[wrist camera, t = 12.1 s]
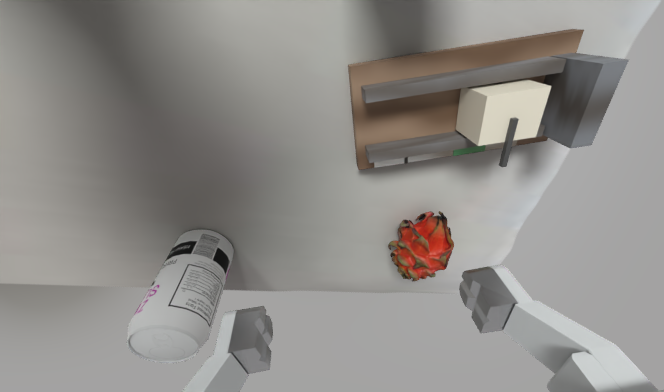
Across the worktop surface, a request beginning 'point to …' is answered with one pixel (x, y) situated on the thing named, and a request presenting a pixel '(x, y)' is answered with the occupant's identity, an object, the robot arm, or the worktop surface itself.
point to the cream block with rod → (502, 112)
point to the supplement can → (182, 299)
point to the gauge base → (466, 71)
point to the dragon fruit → (422, 247)
